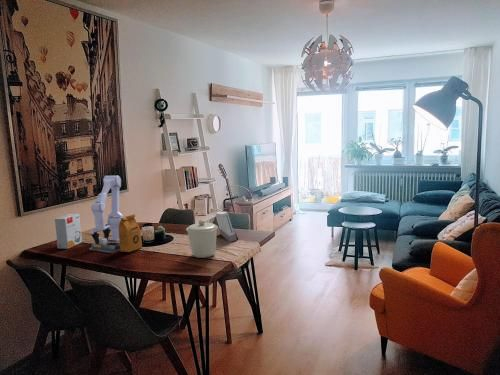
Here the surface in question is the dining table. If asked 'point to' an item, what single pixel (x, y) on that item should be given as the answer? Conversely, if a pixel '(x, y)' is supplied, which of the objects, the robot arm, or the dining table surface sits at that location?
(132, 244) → the coffee package
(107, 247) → the frame
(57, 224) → the hard drive box
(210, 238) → the canister
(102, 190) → the robot arm
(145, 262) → the dining table surface
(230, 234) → the gaming console
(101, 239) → the white rectangular block
